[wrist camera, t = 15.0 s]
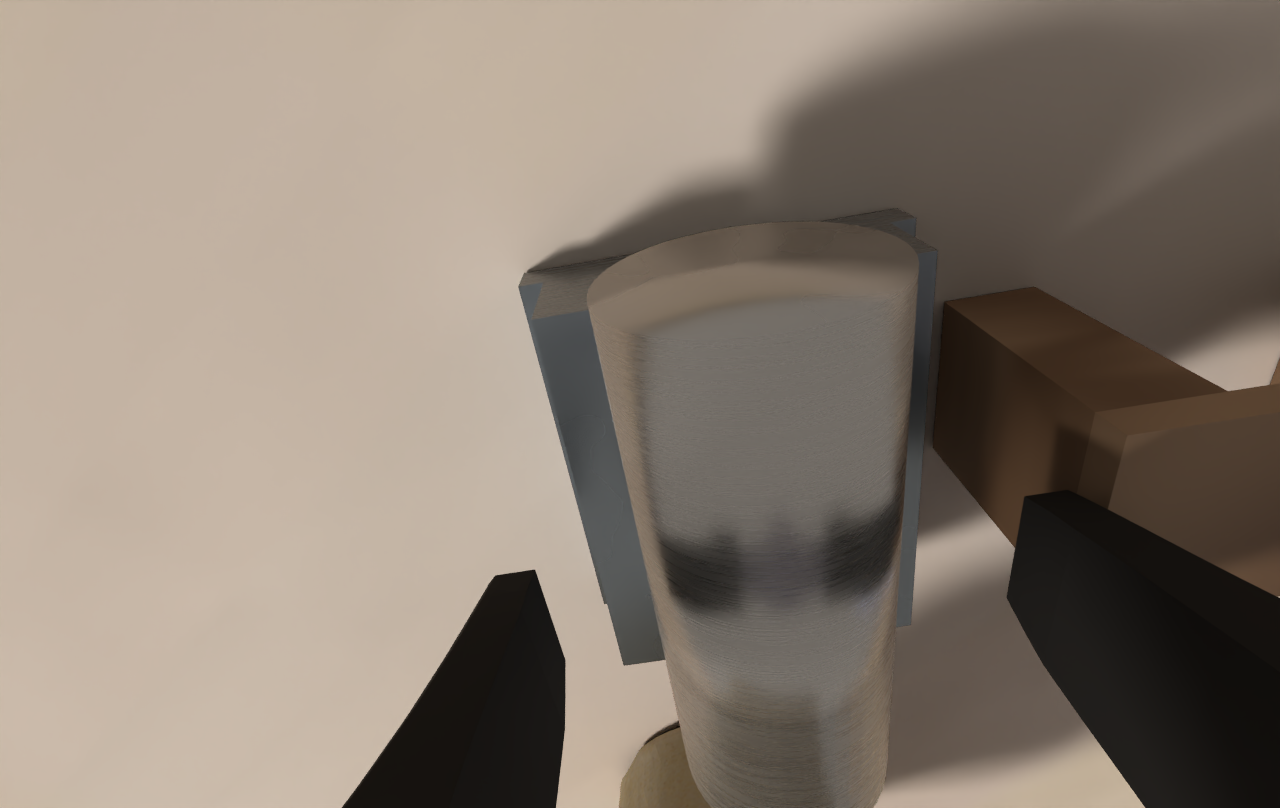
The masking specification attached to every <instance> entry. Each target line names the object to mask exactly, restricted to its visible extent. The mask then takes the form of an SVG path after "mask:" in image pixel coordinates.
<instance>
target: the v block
mask: <svg viewBox="0 0 1280 808" xmlns="http://www.w3.org/2000/svg"><path fill="white" fill-rule="evenodd" d="M821 222H831V223H842V224H850V225H857V226H862V227H867V228H872V229H875V230H879V231H883V232H886V233H888V234H891V235H893V236H896V237H898V238H899V239H901V240H903V241H905V242H906V243H907V244H909V245H910V246H911V247H912V248H913V249H914V251H915V252H916V254H917V255H918V260H919V273H918V289H917V305H916V321H915V336H914V352H913V368H912V383H911V399H910V415H909V431H908V446H907V462H906V478H905V494H904V509H903V525H902V541H901V557H900V572H899V588H898V604H897V620H896V627H900V626H907V625H911V615H912V601H913V587H914V573H915V559H916V545H917V531H918V517H919V503H920V489H921V475H922V461H923V447H924V433H925V419H926V405H927V391H928V377H929V363H930V349H931V335H932V321H933V307H934V293H935V279H936V265H937V250H936V249H934V248H932V247H930V246H929V245H927V244H925V243H924V242H922V241H920V240H919V239H917V238H915V232H916V218H915V217H913V216H912V215H910V214H908V213H906V212H904V211H902V210H900V209H898V208H896V209H890V210H885V211H879V212H873V213H867V214H862V215H856V216H850V217H844V218H839V219H833V220H827V221H821ZM631 255H632V254H631ZM628 256H630V255H625V256H620V257H614V258H608V259H602V260H597V261H591V262H585V263H579V264H574V265H568V266H562V267H556V268H551V269H545V270H539V271H533V272H527V273H524V275H523V277H522V279H521V282H520V284H519V286H518V287H519V291H520V295H521V298H522V302H523V306H524V309H525V313H526V317H527V320H528V324H529V328H530V331H531V335H532V339H533V343H534V346H535V350H536V354H537V357H538V361H539V365H540V368H541V372H542V376H543V379H544V383H545V387H546V391H547V394H548V398H549V402H550V405H551V409H552V413H553V416H554V420H555V424H556V427H557V431H558V435H559V439H560V442H561V446H562V450H563V453H564V457H565V461H566V464H567V468H568V472H569V475H570V479H571V483H572V487H573V490H574V494H575V498H576V501H577V505H578V509H579V512H580V516H581V520H582V523H583V527H584V531H585V535H586V538H587V542H588V546H589V549H590V553H591V557H592V560H593V564H594V568H595V571H596V575H597V579H598V583H599V586H600V590H601V594H602V597H603V601H604V604H607V605H608V608H609V612H610V616H611V620H612V623H613V627H614V631H615V634H616V638H617V642H618V646H619V649H620V653H621V657H622V661H623V664H624V665H632V664H639V663H646V662H653V661H660V660H665V656H664V651H663V646H662V642H661V637H660V633H659V628H658V624H657V619H656V614H655V610H654V605H653V601H652V596H651V592H650V587H649V583H648V578H647V573H646V569H645V564H644V560H643V555H642V551H641V546H640V542H639V537H638V532H637V528H636V523H635V519H634V514H633V510H632V505H631V500H630V496H629V491H628V487H627V482H626V478H625V473H624V469H623V464H622V459H621V455H620V450H619V446H618V441H617V437H616V432H615V428H614V423H613V418H612V414H611V409H610V405H609V400H608V396H607V391H606V386H605V382H604V377H603V373H602V368H601V364H600V359H599V355H598V350H597V345H596V341H595V336H594V332H593V327H592V323H591V318H590V314H589V309H588V304H587V293H588V290H589V287H590V286H591V284H592V283H593V281H594V280H595V279H596V278H597V277H598V276H599V275H600V274H601V273H603V272H604V271H605V270H606V269H608V268H609V267H611V266H612V265H614V264H615V263H617V262H619V261H620V260H622V259H624V258H626V257H628Z"/></svg>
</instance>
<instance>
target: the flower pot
mask: <svg viewBox="0 0 1280 808" xmlns="http://www.w3.org/2000/svg"><path fill="white" fill-rule="evenodd" d="M619 808H711V806H710V805H709V804H708V803H707V801H706V800H705V799H704V797H703V796H702V794H701V792H700V791H699V789H698V788H697V786H696V783H695V781H694V779H693V777H692V774H691V771H690V768H689V764H688V760H687V756H686V751H685V747H684V742H683V738H682V733H681V728H680V727H679V728H677V729H674V730H671V731H669V732H667V733H664V734H662V735H660V736H658V737H656V738H655V739H653V740H651V741H650V742H648V743H647V744H646V745H644V746H643V747H642V748H641V749H640V750H639V752H638V754H637V755H636V757H635V759H634V761H633V763H632V765H631V767H630V768H629V770H628V772H627V773H626V775H625V777H624V778H623V780H622V782H621V789H620V801H619Z"/></svg>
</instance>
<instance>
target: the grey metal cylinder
mask: <svg viewBox="0 0 1280 808" xmlns="http://www.w3.org/2000/svg"><path fill="white" fill-rule="evenodd" d="M918 273H919V260H918V255H917V254H916V252H915V251H914V249H913V248H912V247H911V246H910V245H909V244H907V243H906V242H905V241H903V240H901V239H899V238H898V237H896V236H893V235H891V234H888V233H886V232H883V231H879V230H875V229H872V228H867V227H862V226H857V225H850V224H842V223H831V222H809V221H802V222H772V223H760V224H750V225H742V226H734V227H728V228H721V229H716V230H711V231H706V232H701V233H697V234H692V235H688V236H684V237H681V238H677V239H673V240H670V241H667V242H664V243H660V244H657V245H655V246H652V247H649V248H647V249H644V250H641V251H639V252H637V253H635V254H632V255H630V256H628V257H626V258H624V259H622V260H620V261H619V262H617V263H615V264H614V265H612V266H611V267H609V268H608V269H606V270H605V271H604V272H603V273H601V274H600V275H599V276H598V277H597V278H596V279H595V280H594V281H593V283H592V284H591V286H590V287H589V290H588V293H587V304H588V309H589V314H590V318H591V323H592V327H593V332H594V336H595V341H596V345H597V350H598V355H599V359H600V364H601V368H602V373H603V377H604V382H605V386H606V391H607V396H608V400H609V405H610V409H611V414H612V418H613V423H614V428H615V432H616V437H617V441H618V446H619V450H620V455H621V459H622V464H623V469H624V473H625V478H626V482H627V487H628V491H629V496H630V500H631V505H632V510H633V514H634V519H635V523H636V528H637V532H638V537H639V542H640V546H641V551H642V555H643V560H644V564H645V569H646V573H647V578H648V583H649V587H650V592H651V596H652V601H653V605H654V610H655V614H656V619H657V624H658V628H659V633H660V637H661V642H662V646H663V651H664V656H665V660H666V665H667V669H668V674H669V678H670V683H671V687H672V692H673V697H674V701H675V706H676V710H677V715H678V719H679V724H680V728H681V733H682V738H683V742H684V747H685V751H686V756H687V760H688V764H689V768H690V771H691V774H692V777H693V779H694V781H695V783H696V786H697V788H698V789H699V791H700V792H701V794H702V796H703V797H704V799H705V800H706V801H707V803H708V804H709V805H710V806H711V808H873V807H874V806H875V804H876V803H877V801H878V798H879V796H880V794H881V792H882V789H883V786H884V782H885V778H886V771H887V761H888V746H889V730H890V714H891V698H892V683H893V667H894V651H895V635H896V620H897V604H898V588H899V572H900V557H901V541H902V525H903V509H904V494H905V478H906V462H907V446H908V431H909V415H910V399H911V383H912V368H913V352H914V336H915V321H916V305H917V289H918Z"/></svg>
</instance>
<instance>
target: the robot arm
mask: <svg viewBox="0 0 1280 808" xmlns="http://www.w3.org/2000/svg"><path fill="white" fill-rule="evenodd" d="M1007 599H1008V601H1009V603H1010V605H1011V607H1012V609H1013V611H1014V612H1015V614H1016V616H1017V618H1018V620H1019V622H1020V624H1021V626H1022V628H1023V629H1024V631H1025V633H1026V635H1027V637H1028V639H1029V640H1030V642H1031V644H1032V646H1033V647H1034V649H1035V651H1036V653H1037V654H1038V656H1039V658H1040V660H1041V661H1042V663H1043V665H1044V666H1045V668H1046V669H1047V671H1048V672H1049V673H1050V675H1051V676H1052V678H1053V679H1054V681H1055V682H1056V684H1057V685H1058V686H1059V688H1060V689H1061V691H1062V692H1063V693H1064V695H1065V696H1066V698H1067V699H1068V700H1069V702H1070V703H1071V705H1072V706H1073V708H1074V709H1075V710H1076V712H1077V713H1078V715H1079V716H1080V717H1081V719H1082V720H1083V722H1084V723H1085V724H1086V726H1087V727H1088V729H1089V730H1090V731H1091V733H1092V734H1093V735H1094V737H1095V738H1096V740H1097V741H1098V742H1099V744H1100V745H1101V747H1102V748H1103V749H1104V751H1105V752H1106V754H1107V755H1108V756H1109V758H1110V759H1111V760H1112V762H1113V763H1114V765H1115V766H1116V767H1117V769H1118V770H1119V772H1120V773H1121V774H1122V776H1123V777H1124V779H1125V780H1126V781H1127V783H1128V784H1129V785H1130V787H1131V788H1132V790H1133V791H1134V792H1135V794H1136V795H1137V797H1138V798H1139V799H1140V801H1141V802H1142V804H1143V805H1144V806H1145V808H1280V598H1279V597H1277V596H1275V595H1273V594H1271V593H1269V592H1267V591H1265V590H1263V589H1261V588H1259V587H1257V586H1255V585H1253V584H1251V583H1249V582H1247V581H1245V580H1243V579H1241V578H1239V577H1237V576H1235V575H1233V574H1231V573H1229V572H1227V571H1225V570H1223V569H1221V568H1219V567H1217V566H1216V565H1214V564H1212V563H1210V562H1208V561H1206V560H1204V559H1202V558H1200V557H1198V556H1196V555H1194V554H1192V553H1190V552H1189V551H1187V550H1185V549H1183V548H1181V547H1179V546H1177V545H1175V544H1173V543H1171V542H1169V541H1168V540H1166V539H1164V538H1162V537H1160V536H1158V535H1156V534H1154V533H1152V532H1150V531H1148V530H1147V529H1145V528H1143V527H1141V526H1139V525H1137V524H1135V523H1133V522H1131V521H1129V520H1127V519H1126V518H1124V517H1122V516H1120V515H1118V514H1116V513H1114V512H1112V511H1110V510H1108V509H1106V508H1104V507H1102V506H1100V505H1098V504H1096V503H1094V502H1092V501H1090V500H1088V499H1086V498H1084V497H1082V496H1080V495H1078V494H1076V493H1074V492H1072V491H1069V490H1062V491H1056V492H1049V493H1042V494H1036V495H1029V496H1024V501H1023V507H1022V512H1021V518H1020V524H1019V530H1018V535H1017V541H1016V547H1015V552H1014V558H1013V564H1012V570H1011V575H1010V581H1009V587H1008V592H1007ZM564 731H565V658H564V655H563V652H562V649H561V646H560V643H559V640H558V637H557V634H556V631H555V628H554V625H553V622H552V619H551V616H550V613H549V610H548V607H547V604H546V601H545V598H544V595H543V592H542V589H541V586H540V583H539V580H538V577H537V574H536V571H535V570H529V571H523V572H516V573H509V574H503V575H496V576H495V577H494V578H493V579H492V581H491V582H490V583H489V585H488V587H487V588H486V590H485V592H484V593H483V595H482V597H481V598H480V600H479V602H478V604H477V605H476V607H475V609H474V610H473V612H472V614H471V615H470V617H469V619H468V620H467V622H466V624H465V625H464V627H463V629H462V630H461V632H460V634H459V635H458V637H457V639H456V640H455V642H454V644H453V645H452V647H451V648H450V650H449V652H448V653H447V655H446V657H445V658H444V660H443V661H442V663H441V665H440V666H439V668H438V669H437V671H436V672H435V674H434V675H433V677H432V679H431V680H430V682H429V683H428V685H427V686H426V688H425V689H424V691H423V693H422V694H421V696H420V697H419V699H418V700H417V702H416V703H415V705H414V707H413V708H412V710H411V711H410V713H409V714H408V716H407V717H406V719H405V720H404V722H403V723H402V724H401V726H400V727H399V729H398V730H397V732H396V733H395V734H394V736H393V737H392V739H391V740H390V742H389V743H388V744H387V746H386V747H385V749H384V750H383V752H382V753H381V754H380V756H379V757H378V759H377V760H376V762H375V763H374V764H373V766H372V767H371V769H370V770H369V771H368V773H367V774H366V776H365V777H364V779H363V780H362V781H361V783H360V784H359V785H358V787H357V788H356V789H355V791H354V792H353V793H352V795H351V796H350V797H349V799H348V800H347V801H346V803H345V804H344V805H343V807H342V808H556V802H557V793H558V785H559V776H560V767H561V759H562V750H563V741H564Z"/></svg>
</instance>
